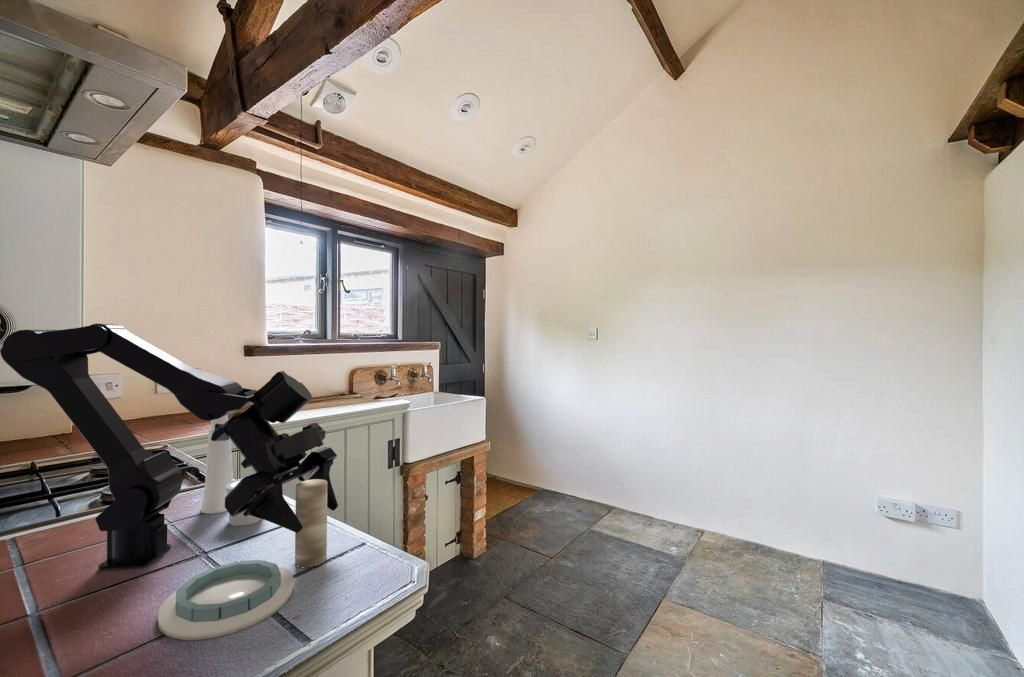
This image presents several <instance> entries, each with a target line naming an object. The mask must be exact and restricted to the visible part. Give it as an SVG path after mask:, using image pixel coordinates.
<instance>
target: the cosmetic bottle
mask: <svg viewBox="0 0 1024 677" xmlns="http://www.w3.org/2000/svg"><path fill="white" fill-rule="evenodd" d="M228 420H229V415H226V416H224V417H221V418H219V419H215V420H210V421H211V423H210V424H211V425H210V428H209V429H208V435H207V449H206V464H205V478H204V479H205V480H204V488H203V489H204V490H203V497H202V502H201V507H200V512H201V513H202V514H207V515H213V514H214V515H215V514H219V513H220V514H221V513H225V512H228V511H227V509H226V508H225V497H226V496H227V494H226V485H227V484H229V483H230V482H233V481H234V476H233V473H234V472H233V459H232V458H233V457H232V455H233V454H232V441H231V440H230V439H229V440H227V441H212V440H211V437H212V434H213V432H214V430H215V424H224V423H225V422H226V421H228Z"/></svg>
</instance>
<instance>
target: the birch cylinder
mask: <svg viewBox="0 0 1024 677" xmlns="http://www.w3.org/2000/svg"><path fill="white" fill-rule="evenodd" d="M295 515H296V516H297V518H298V519H299V521H300V523H301V525H302V526H303V528H302V530H301V531H300V532H298V533H296V532H294V535H295V536H294V542H295V543H294V565H295V564H296V565H297V566H299V567H298V568H300V567H311V566H315V567H318V566H319V565H322V564H323V563H325V562H326V560H327V557H328V556H327V548H328V547H327V544H328V539H327V538H328V535H327V534H328V507H327V481H326V480H322V479H312V480H306V481H300V482H298V483H297V484H295ZM321 563H322V564H321ZM296 565H295V566H296ZM317 565H318V566H317ZM297 566H296V567H297ZM311 568H312V567H311Z"/></svg>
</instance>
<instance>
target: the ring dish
mask: <svg viewBox="0 0 1024 677" xmlns="http://www.w3.org/2000/svg"><path fill="white" fill-rule="evenodd" d="M294 580H295V579H294V576H293V574H292V572H290V571H289V570H288V569H286V567H282V566H278V564H277V563H274V562H272V561H271V562H270V561H267V560H263V559H253V560H252V559H251V560H249V559H247V560H240V561H239V560H238V561H237V560H236V561H233V562H229V563H225V564H222V565H218V566H215V567H212V568H211V567H210V568H209V569H207V570H205V571H203V572H200V573H198V574H197V575H194V576H193V577H191V578H189V579H188V580H187V581H185V582H184V583H183V584H182V585H181V586H180V587H179V588H178V589H177V590H175V591H174V592H173V593H172V594H170V595H169V596H168V597H167V598H166V599H165V600H164V601H163V602H162V603H161V605H160V607H159V609H158V613H157V626H158V629H159V631H160V633H161V634H163V635H165V636H167V637H168V638H171V639H175V640H176V639H177V640H183V641H199V640H200V641H201V640H208V639H213V638H219V637H223V636H228V635H231V634H234V633H238V632H240V631H242V630H247V628H250V627H253V626H254V625H257V624H259V623H260V622H263V621H265V620H266V619H268V618H270V617H271V616H273V615H274V614H275V613H277V612H278V611H280V609H282V608H283V607H284V606H285V605H286V602H287V603H288V602H289V600H290V599H291V597H292V595H293V593H294V582H295V581H294ZM292 592H293V593H292ZM290 596H291V597H290ZM289 598H290V599H289ZM288 599H289V600H288Z"/></svg>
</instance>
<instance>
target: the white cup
mask: <svg viewBox="0 0 1024 677" xmlns="http://www.w3.org/2000/svg"><path fill="white" fill-rule="evenodd" d="M242 479H243V478H240V479H236V480H233V482H230V483H229V484H227V485H226V494H227V495H228V494H229V493H230V492H231V491H232V490H233V488H234V487H235V486H236V485H237V484H238V483H239V482H240V481H241V480H242ZM227 512H228V511H227ZM244 512H245V511H244ZM244 512H242V513H240V514H238V515H236V516H233V517H232V516H231V515H230V513H229V512H228V521H229V523H230V525H232V526H238V525H241V526H240V527H242V526H249V525H252V524H256V523H258V522H261V521H262V520H261V519H260V518H257V517H254V516H251V515H248V516H244V515H243V513H244ZM238 527H239V526H238Z"/></svg>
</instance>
